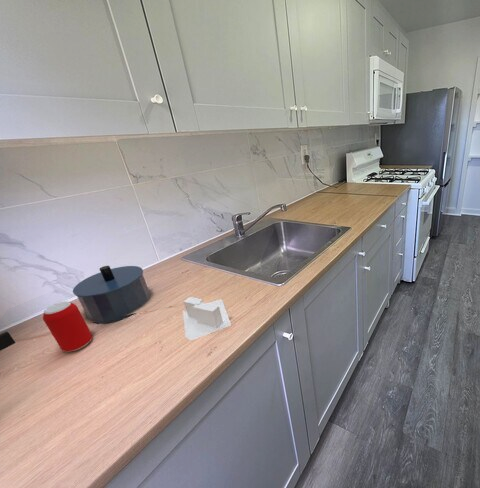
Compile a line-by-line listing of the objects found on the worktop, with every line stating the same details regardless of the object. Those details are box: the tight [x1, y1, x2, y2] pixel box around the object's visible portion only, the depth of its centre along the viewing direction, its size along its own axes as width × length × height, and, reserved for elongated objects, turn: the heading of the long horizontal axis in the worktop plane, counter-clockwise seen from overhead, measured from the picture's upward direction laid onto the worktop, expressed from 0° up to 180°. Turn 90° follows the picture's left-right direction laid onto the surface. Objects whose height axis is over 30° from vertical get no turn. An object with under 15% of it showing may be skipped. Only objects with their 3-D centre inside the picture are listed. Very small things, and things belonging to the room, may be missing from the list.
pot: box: [76, 273, 151, 325], centre depth 81 cm, size 16×16×10 cm
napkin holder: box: [182, 296, 232, 341], centre depth 74 cm, size 15×11×6 cm
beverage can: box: [42, 301, 93, 353], centre depth 65 cm, size 6×6×12 cm
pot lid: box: [72, 265, 144, 298], centre depth 78 cm, size 17×17×5 cm
